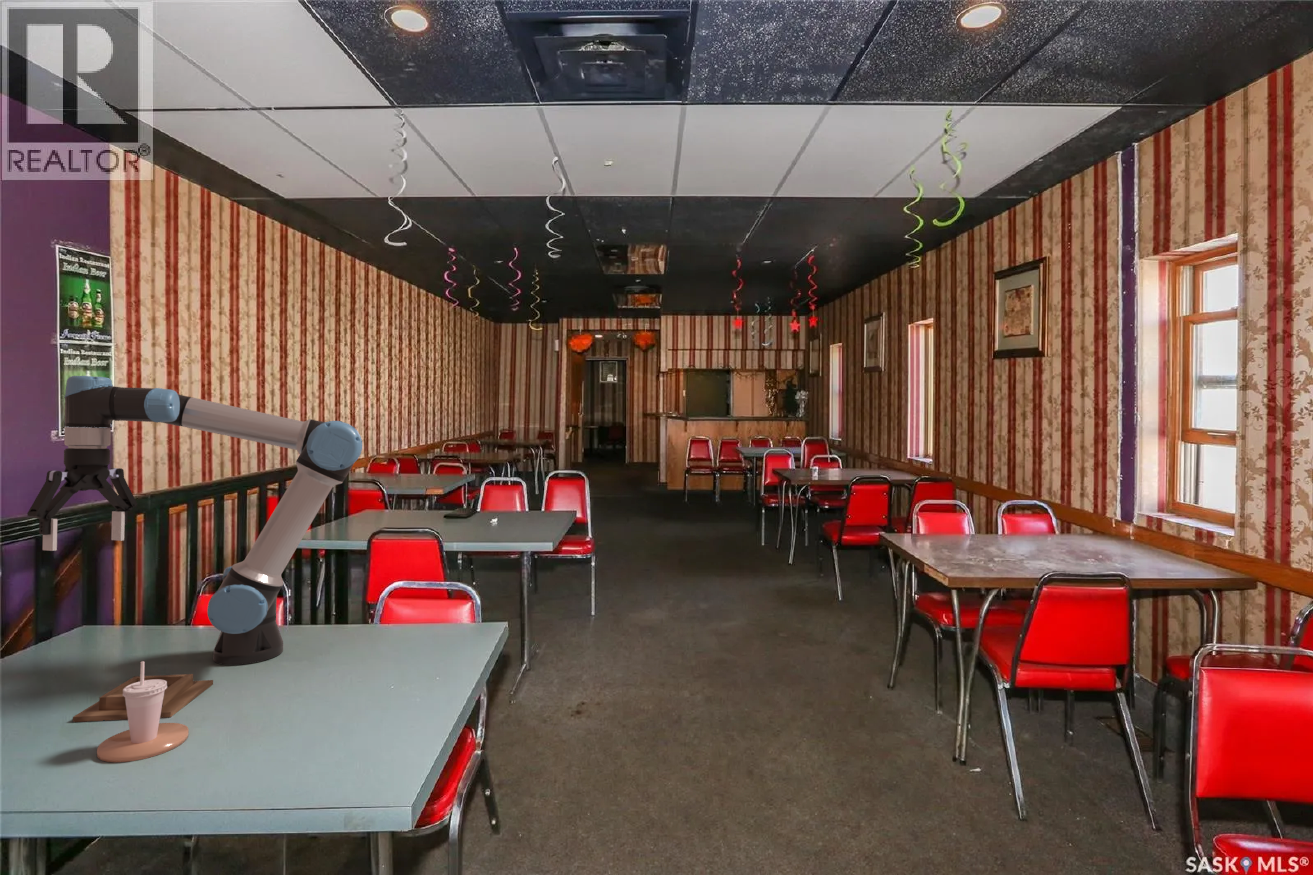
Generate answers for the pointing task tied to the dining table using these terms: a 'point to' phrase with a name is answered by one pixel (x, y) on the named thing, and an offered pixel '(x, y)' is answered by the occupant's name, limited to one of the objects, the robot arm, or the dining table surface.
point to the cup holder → (174, 699)
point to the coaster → (142, 744)
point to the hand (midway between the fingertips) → (85, 545)
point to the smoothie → (144, 707)
